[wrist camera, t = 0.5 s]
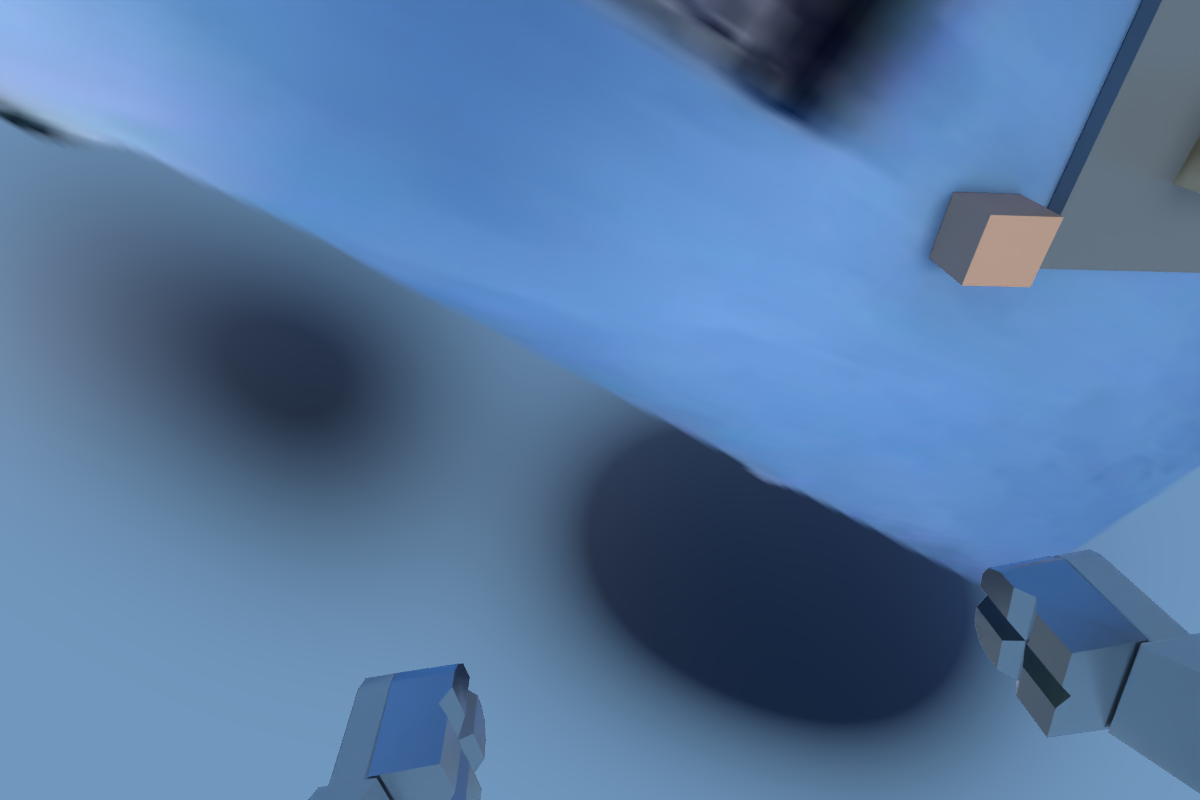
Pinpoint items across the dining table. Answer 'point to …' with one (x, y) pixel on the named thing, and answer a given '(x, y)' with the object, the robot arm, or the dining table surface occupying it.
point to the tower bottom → (1190, 170)
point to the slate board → (1137, 155)
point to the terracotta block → (994, 239)
